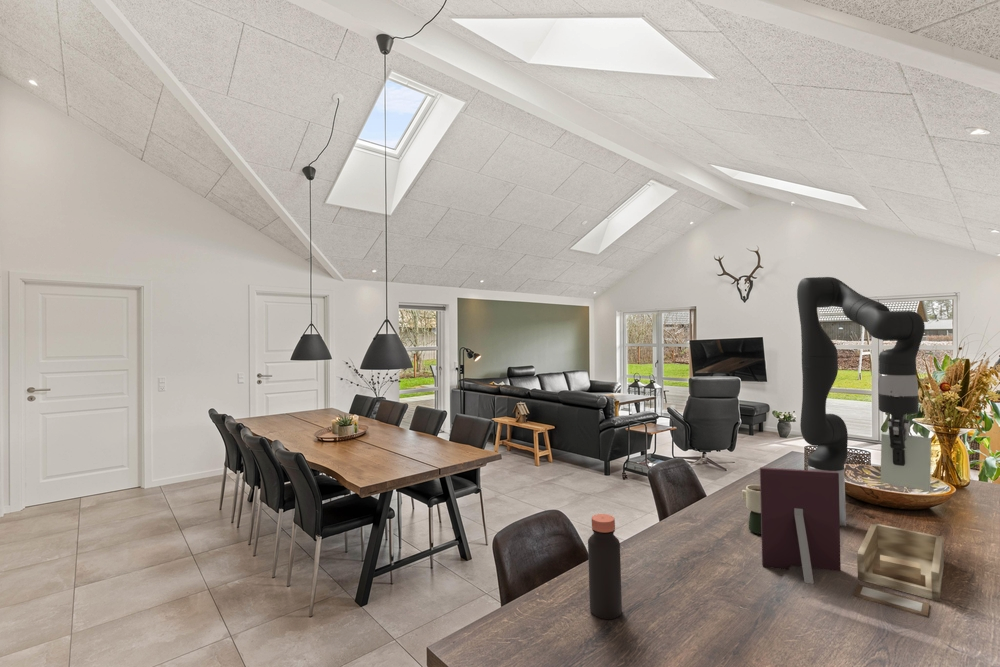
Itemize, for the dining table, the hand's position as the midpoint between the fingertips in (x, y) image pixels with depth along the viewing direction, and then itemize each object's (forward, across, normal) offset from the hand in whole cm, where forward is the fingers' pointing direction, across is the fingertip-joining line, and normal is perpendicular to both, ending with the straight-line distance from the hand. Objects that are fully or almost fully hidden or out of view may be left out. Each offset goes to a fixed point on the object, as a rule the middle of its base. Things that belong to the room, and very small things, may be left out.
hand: (899, 463), depth 116 cm
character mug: (+27, -2, -32) cm, 42 cm away
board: (+26, +20, 0) cm, 33 cm away
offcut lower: (+25, +10, 0) cm, 27 cm away
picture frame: (+27, +20, -16) cm, 37 cm away
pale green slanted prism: (+5, 0, +1) cm, 5 cm away
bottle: (+27, +63, -44) cm, 81 cm away
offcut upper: (+23, +11, 0) cm, 25 cm away
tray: (+26, +3, 0) cm, 26 cm away
